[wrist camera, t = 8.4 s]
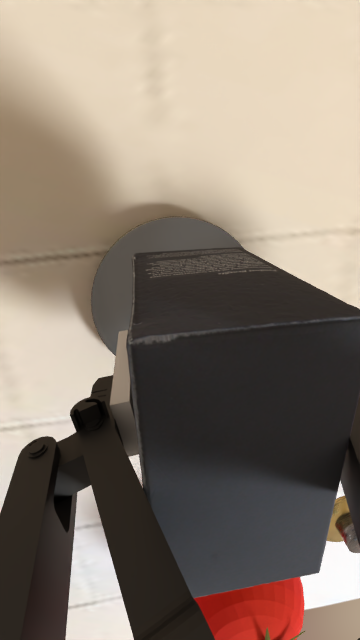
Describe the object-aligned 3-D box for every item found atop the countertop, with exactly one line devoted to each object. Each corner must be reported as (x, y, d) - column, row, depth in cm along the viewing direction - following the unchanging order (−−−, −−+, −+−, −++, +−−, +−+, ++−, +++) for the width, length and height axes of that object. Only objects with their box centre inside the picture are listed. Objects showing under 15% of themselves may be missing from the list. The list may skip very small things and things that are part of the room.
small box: (241, 401, 21) (329, 582, 11) (146, 412, 20) (151, 613, 10) (249, 243, 16) (400, 317, 7) (128, 251, 16) (111, 344, 6)
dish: (116, 382, 27) (115, 391, 26) (71, 233, 22) (68, 236, 20) (257, 352, 28) (262, 359, 26) (247, 201, 22) (253, 202, 21)
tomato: (180, 575, 39) (196, 713, 29) (170, 503, 34) (186, 642, 23) (271, 556, 41) (318, 683, 30) (276, 484, 35) (335, 608, 25)
